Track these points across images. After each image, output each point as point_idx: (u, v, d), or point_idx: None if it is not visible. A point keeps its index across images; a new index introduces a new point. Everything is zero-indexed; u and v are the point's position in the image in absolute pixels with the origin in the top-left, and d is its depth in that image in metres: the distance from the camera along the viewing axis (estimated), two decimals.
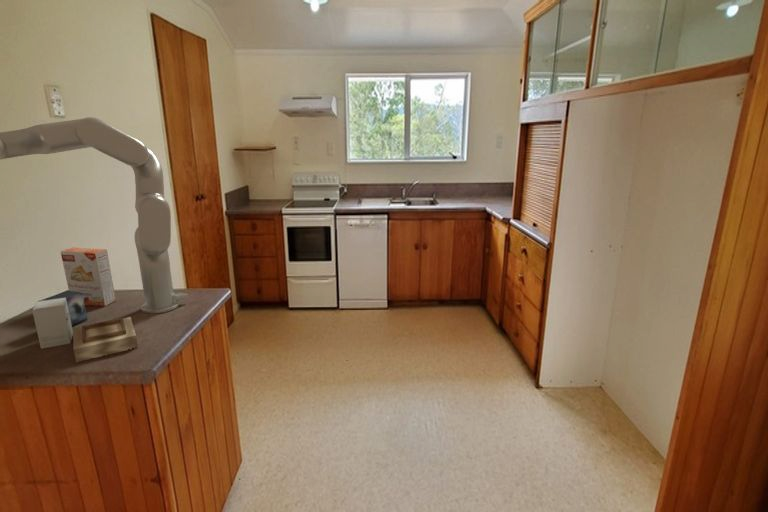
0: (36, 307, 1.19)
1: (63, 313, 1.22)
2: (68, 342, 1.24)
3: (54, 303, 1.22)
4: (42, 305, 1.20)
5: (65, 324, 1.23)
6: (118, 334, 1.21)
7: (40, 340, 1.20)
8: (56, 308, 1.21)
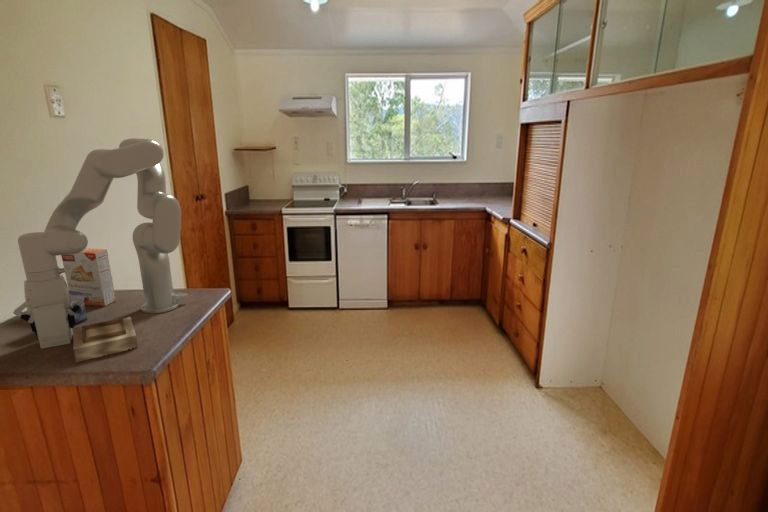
0: None
1: (63, 313, 1.22)
2: (68, 342, 1.24)
3: None
4: None
5: (65, 324, 1.23)
6: (118, 334, 1.21)
7: (40, 340, 1.20)
8: (56, 308, 1.21)
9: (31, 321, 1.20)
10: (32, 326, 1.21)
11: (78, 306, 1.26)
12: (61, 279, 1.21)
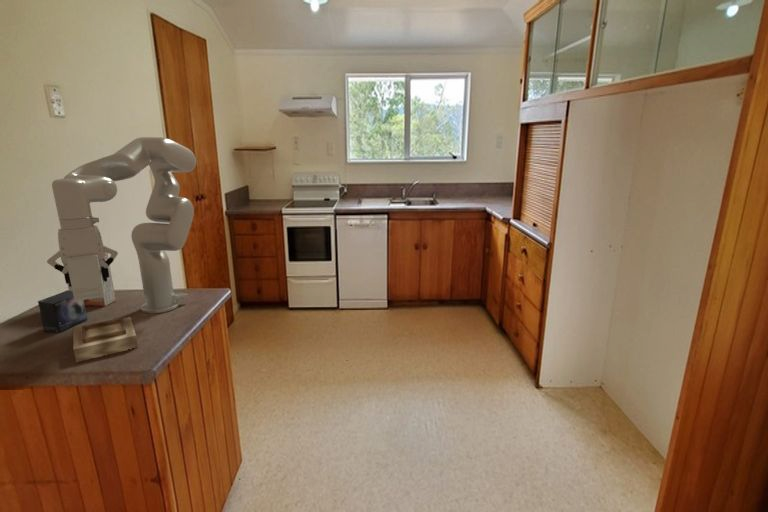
0: (70, 257, 1.14)
1: (97, 264, 1.17)
2: (102, 295, 1.19)
3: None
4: None
5: (99, 276, 1.18)
6: (118, 334, 1.21)
7: (74, 292, 1.15)
8: (90, 259, 1.15)
9: (65, 272, 1.15)
10: (66, 277, 1.16)
11: (112, 259, 1.21)
12: (95, 229, 1.16)
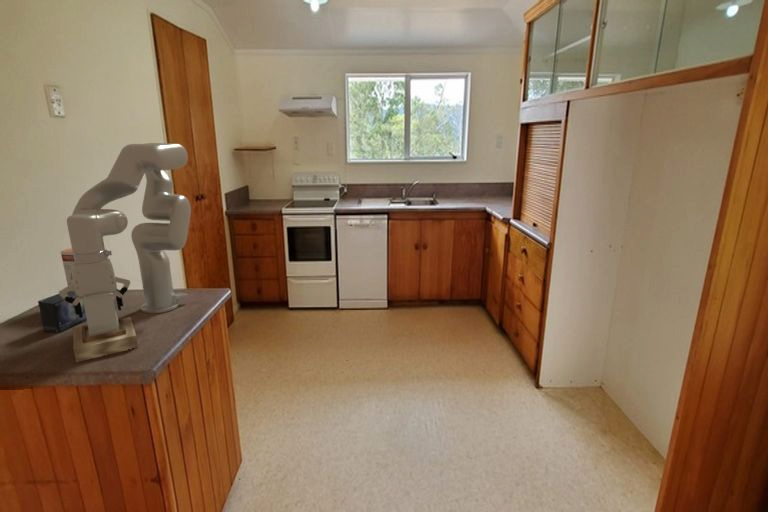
0: (86, 296, 1.17)
1: (112, 302, 1.20)
2: None
3: None
4: None
5: (114, 313, 1.21)
6: (118, 334, 1.21)
7: (90, 329, 1.19)
8: (106, 297, 1.19)
9: (75, 303, 1.17)
10: (76, 309, 1.18)
11: (126, 288, 1.24)
12: (108, 262, 1.19)
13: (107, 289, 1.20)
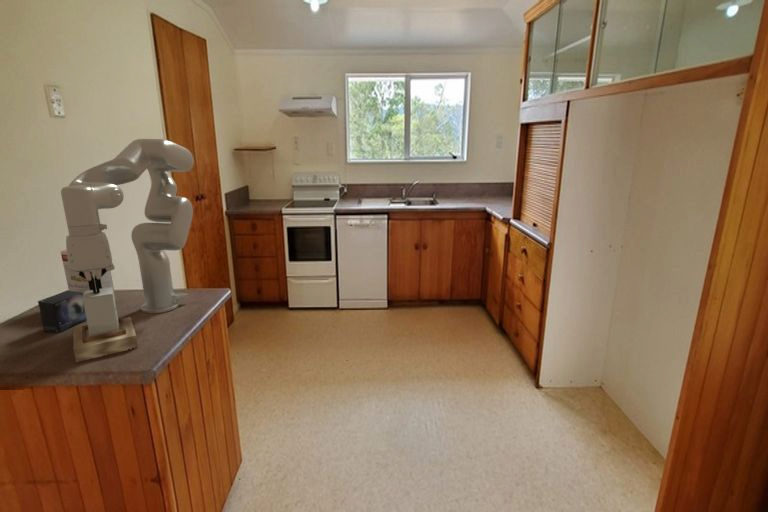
0: (86, 296, 1.17)
1: (112, 302, 1.20)
2: None
3: (103, 292, 1.21)
4: (92, 294, 1.19)
5: (114, 313, 1.21)
6: (118, 334, 1.21)
7: (90, 329, 1.19)
8: (106, 297, 1.19)
9: (89, 278, 1.17)
10: (90, 284, 1.18)
11: (105, 270, 1.20)
12: (103, 235, 1.17)
13: (102, 263, 1.17)
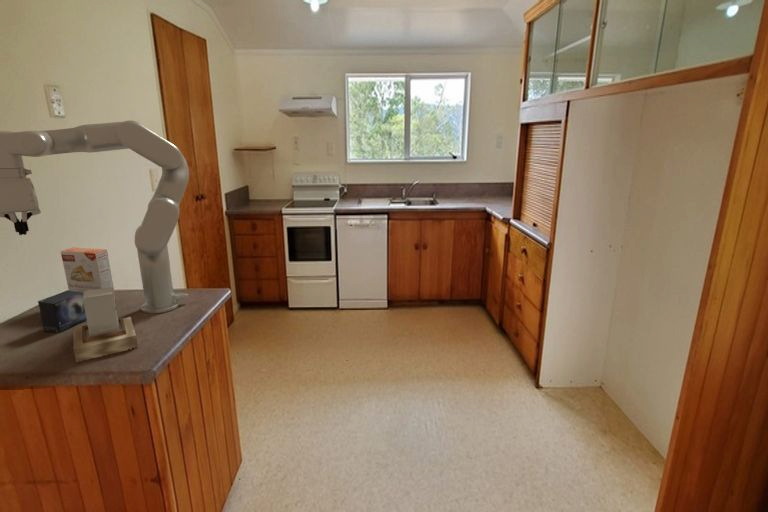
0: (86, 296, 1.17)
1: (112, 302, 1.20)
2: None
3: (103, 292, 1.21)
4: (92, 294, 1.19)
5: (114, 313, 1.21)
6: (118, 334, 1.21)
7: (90, 329, 1.19)
8: (106, 297, 1.19)
9: (14, 220, 1.25)
10: (15, 226, 1.25)
11: (31, 214, 1.27)
12: (27, 179, 1.24)
13: (26, 206, 1.25)
